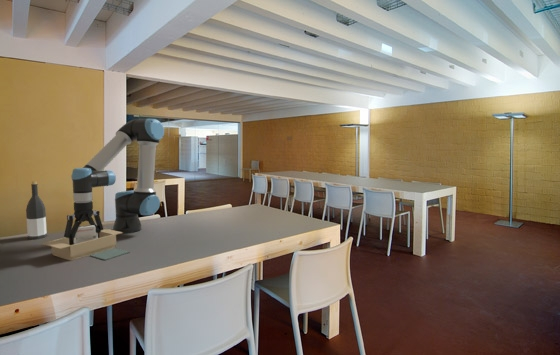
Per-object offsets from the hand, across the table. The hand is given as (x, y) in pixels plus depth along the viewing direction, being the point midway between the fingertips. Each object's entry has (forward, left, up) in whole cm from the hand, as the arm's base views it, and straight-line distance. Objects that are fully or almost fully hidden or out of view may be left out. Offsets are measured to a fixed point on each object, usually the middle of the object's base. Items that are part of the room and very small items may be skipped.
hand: (85, 248), depth 150 cm
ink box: (0, 0, -1) cm, 1 cm away
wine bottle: (0, -43, -1) cm, 43 cm away
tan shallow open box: (0, 0, -1) cm, 1 cm away
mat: (-3, +14, -1) cm, 14 cm away
